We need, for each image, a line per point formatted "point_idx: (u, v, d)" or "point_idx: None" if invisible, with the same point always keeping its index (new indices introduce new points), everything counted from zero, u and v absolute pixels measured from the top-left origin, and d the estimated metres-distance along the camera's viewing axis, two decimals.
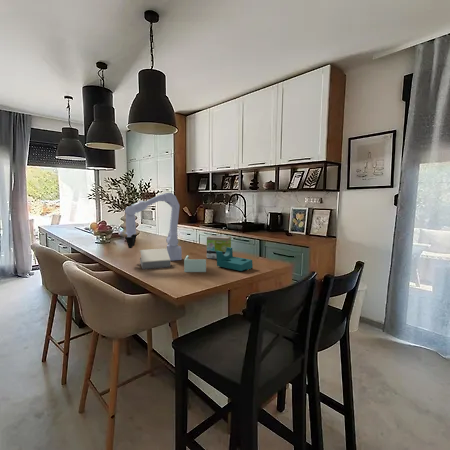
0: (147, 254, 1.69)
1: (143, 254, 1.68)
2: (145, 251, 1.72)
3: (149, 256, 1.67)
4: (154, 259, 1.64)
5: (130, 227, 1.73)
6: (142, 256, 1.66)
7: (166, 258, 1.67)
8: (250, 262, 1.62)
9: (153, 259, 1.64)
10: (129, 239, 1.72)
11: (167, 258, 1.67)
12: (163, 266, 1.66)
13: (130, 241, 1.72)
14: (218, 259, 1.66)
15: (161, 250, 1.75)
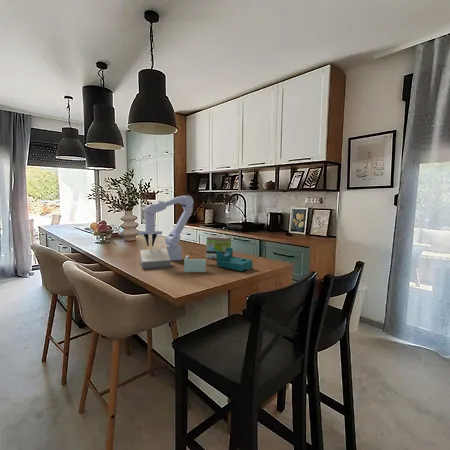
0: (147, 254, 1.69)
1: (143, 254, 1.68)
2: (145, 251, 1.72)
3: (149, 256, 1.67)
4: (154, 259, 1.64)
5: None
6: (142, 256, 1.66)
7: (166, 258, 1.67)
8: (250, 262, 1.62)
9: (153, 259, 1.64)
10: None
11: (167, 258, 1.67)
12: (163, 266, 1.66)
13: None
14: (218, 259, 1.66)
15: (161, 250, 1.75)
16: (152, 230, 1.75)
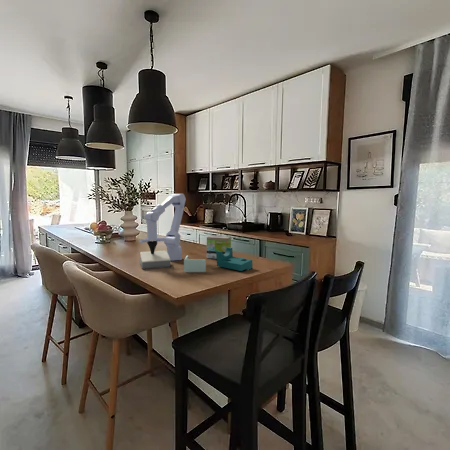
0: (147, 255, 1.69)
1: (143, 255, 1.69)
2: (145, 253, 1.72)
3: (149, 257, 1.67)
4: (154, 259, 1.64)
5: (147, 233, 1.69)
6: (142, 257, 1.66)
7: (166, 258, 1.67)
8: (250, 262, 1.62)
9: (153, 259, 1.64)
10: None
11: (167, 258, 1.67)
12: (163, 266, 1.66)
13: None
14: (218, 259, 1.66)
15: (161, 252, 1.76)
16: (154, 237, 1.69)
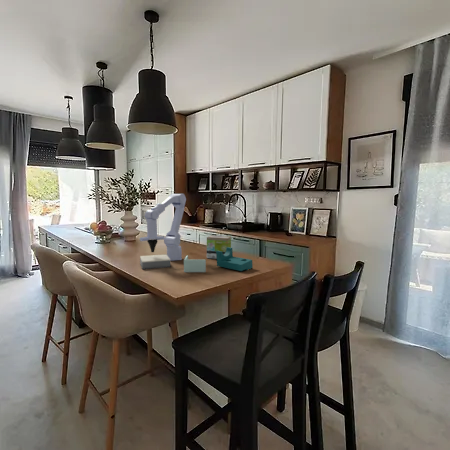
0: (147, 257, 1.69)
1: (143, 258, 1.69)
2: (145, 256, 1.73)
3: (149, 258, 1.67)
4: (154, 260, 1.65)
5: (147, 231, 1.69)
6: (142, 259, 1.66)
7: (166, 259, 1.67)
8: (250, 262, 1.62)
9: (153, 260, 1.64)
10: None
11: (167, 259, 1.67)
12: (163, 266, 1.66)
13: None
14: (218, 259, 1.66)
15: (161, 255, 1.76)
16: (155, 235, 1.69)
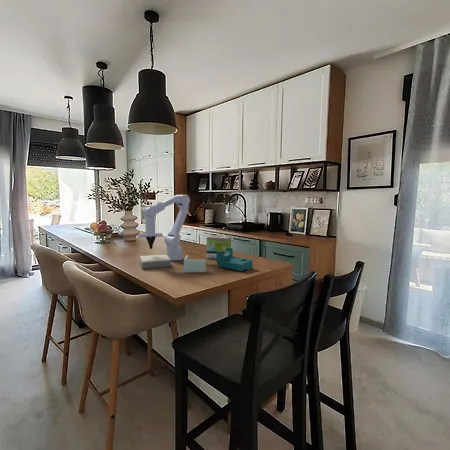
0: (147, 257, 1.69)
1: (143, 258, 1.69)
2: (145, 256, 1.73)
3: (149, 258, 1.67)
4: (154, 260, 1.65)
5: None
6: (142, 259, 1.66)
7: (166, 259, 1.67)
8: (250, 262, 1.62)
9: (153, 260, 1.64)
10: None
11: (167, 259, 1.67)
12: (163, 266, 1.66)
13: None
14: (218, 259, 1.66)
15: (161, 255, 1.76)
16: (152, 232, 1.72)
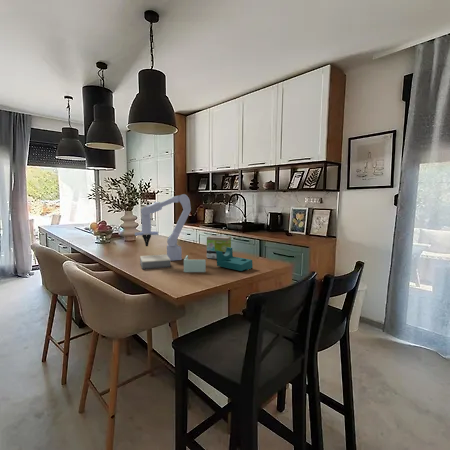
0: (147, 257, 1.69)
1: (143, 258, 1.69)
2: (145, 256, 1.73)
3: (149, 258, 1.67)
4: (154, 260, 1.65)
5: None
6: (142, 259, 1.66)
7: (166, 259, 1.67)
8: (250, 262, 1.62)
9: (153, 260, 1.64)
10: None
11: (167, 259, 1.67)
12: (163, 266, 1.66)
13: None
14: (218, 259, 1.66)
15: (161, 255, 1.76)
16: (148, 231, 1.81)
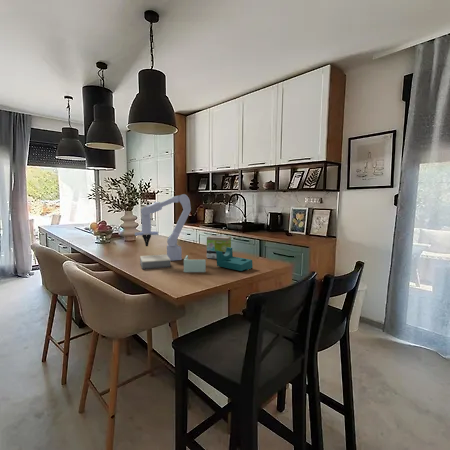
0: (147, 257, 1.69)
1: (143, 258, 1.69)
2: (145, 256, 1.73)
3: (149, 258, 1.67)
4: (154, 260, 1.65)
5: None
6: (142, 259, 1.66)
7: (166, 259, 1.67)
8: (250, 262, 1.62)
9: (153, 260, 1.64)
10: None
11: (167, 259, 1.67)
12: (163, 266, 1.66)
13: None
14: (218, 259, 1.66)
15: (161, 255, 1.76)
16: (148, 231, 1.81)
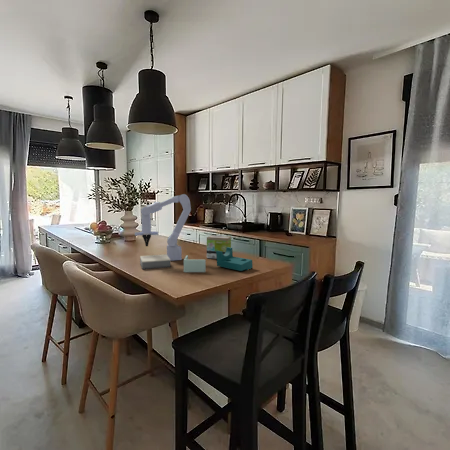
0: (147, 257, 1.69)
1: (143, 258, 1.69)
2: (145, 256, 1.73)
3: (149, 258, 1.67)
4: (154, 260, 1.65)
5: None
6: (142, 259, 1.66)
7: (166, 259, 1.67)
8: (250, 262, 1.62)
9: (153, 260, 1.64)
10: None
11: (167, 259, 1.67)
12: (163, 266, 1.66)
13: None
14: (218, 259, 1.66)
15: (161, 255, 1.76)
16: (148, 231, 1.81)
